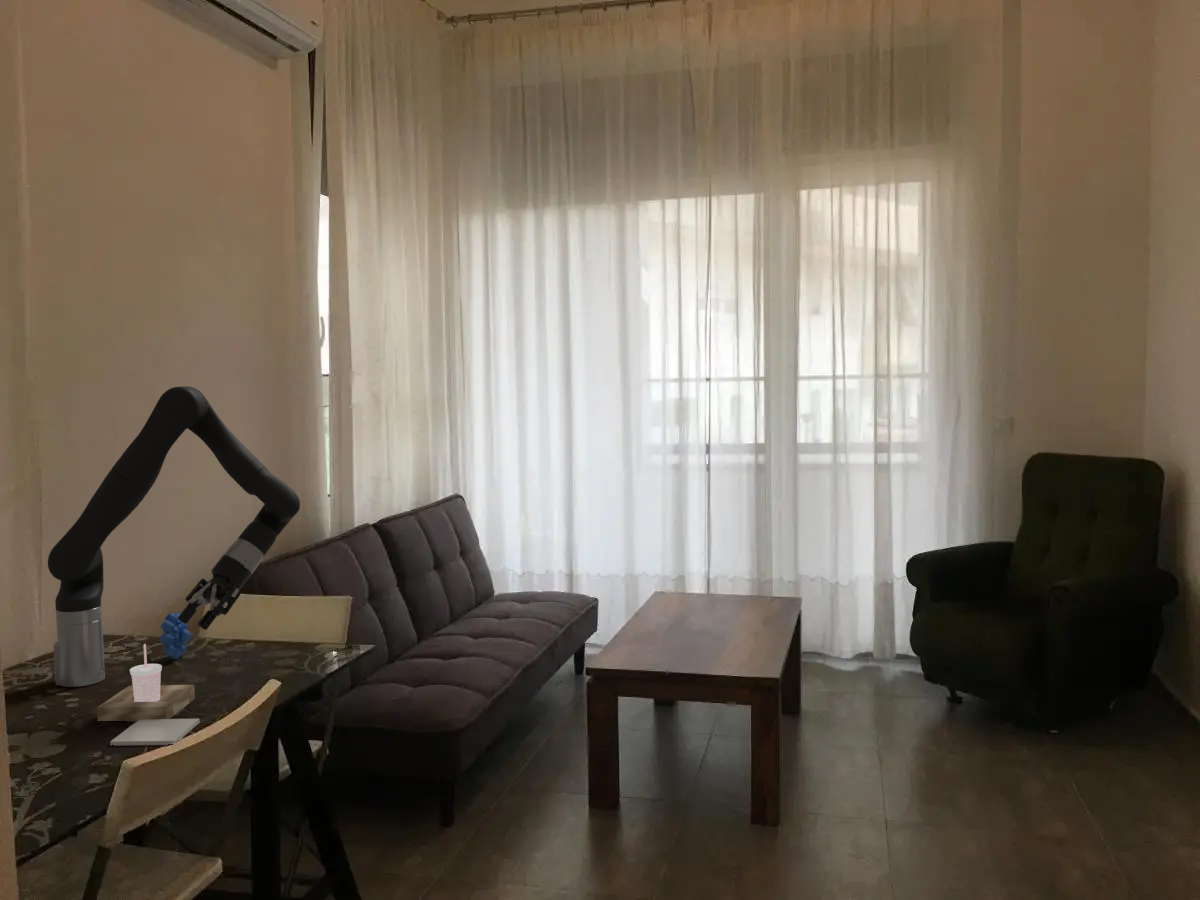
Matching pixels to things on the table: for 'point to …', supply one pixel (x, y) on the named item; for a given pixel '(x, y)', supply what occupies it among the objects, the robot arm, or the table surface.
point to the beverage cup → (146, 681)
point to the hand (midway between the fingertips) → (191, 624)
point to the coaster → (155, 732)
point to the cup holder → (146, 704)
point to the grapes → (174, 636)
